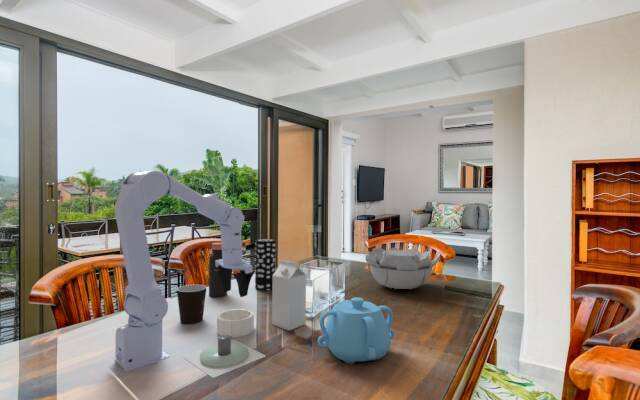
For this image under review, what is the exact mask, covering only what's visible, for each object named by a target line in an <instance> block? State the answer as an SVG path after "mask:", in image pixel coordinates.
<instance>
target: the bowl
mask: <svg viewBox="0 0 640 400" xmlns="http://www.w3.org/2000/svg"><path fill="white" fill-rule="evenodd" d="M254 329H255V313H254V311H252V310H249V309H246V308H233V309H226V310H224V311H221V312H219V313H218V314H216V334H218V335H219V337H220V336H223V335H228V336H231V338H239V337H244V336H247V335H249V334H251V333H252V332H254Z"/></svg>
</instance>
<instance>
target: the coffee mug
mask: <svg viewBox="0 0 640 400" xmlns="http://www.w3.org/2000/svg"><path fill="white" fill-rule="evenodd" d="M176 293H177V294H176V295H177V304H178V312H179V320H180V323H181V324H183V325H195V324H199V323H200V322H202V321H203V320H204V313H205V312H204V311H205V303H206V294H207V286H206V285H204V284H186V285H181V286H179V287H177V288H176Z"/></svg>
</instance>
